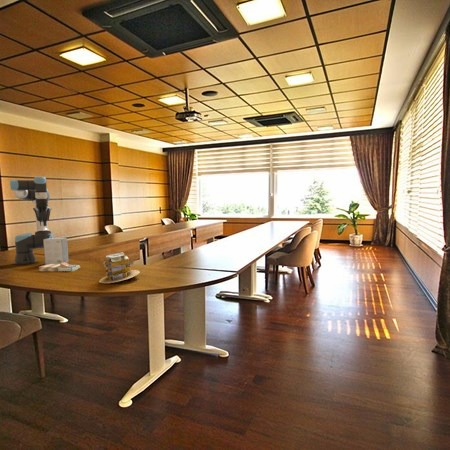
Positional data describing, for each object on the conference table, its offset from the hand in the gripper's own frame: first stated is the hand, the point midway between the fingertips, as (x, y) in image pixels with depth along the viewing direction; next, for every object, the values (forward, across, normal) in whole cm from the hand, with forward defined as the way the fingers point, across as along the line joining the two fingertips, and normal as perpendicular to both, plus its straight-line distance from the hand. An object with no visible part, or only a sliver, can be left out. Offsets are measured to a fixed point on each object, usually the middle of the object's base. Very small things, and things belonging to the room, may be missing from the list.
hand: (43, 230), depth 225 cm
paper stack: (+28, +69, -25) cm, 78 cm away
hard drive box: (+29, -2, +15) cm, 32 cm away
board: (+28, +8, -4) cm, 30 cm away
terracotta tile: (+26, +17, -4) cm, 32 cm away
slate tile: (+25, +22, -4) cm, 34 cm away
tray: (+28, +21, -4) cm, 35 cm away
